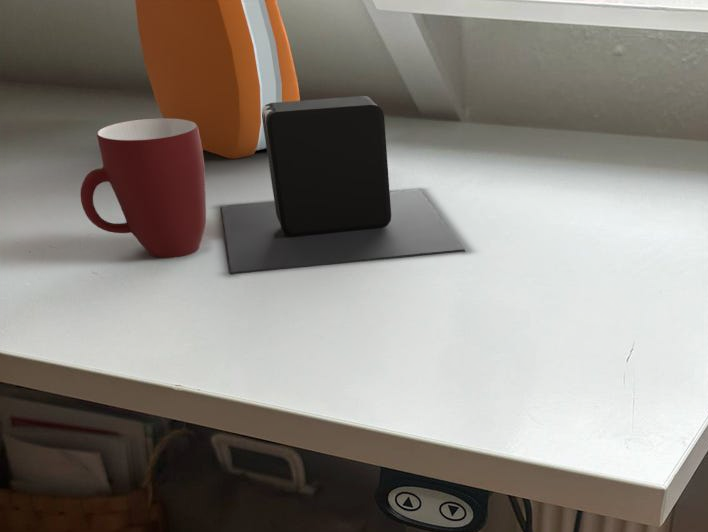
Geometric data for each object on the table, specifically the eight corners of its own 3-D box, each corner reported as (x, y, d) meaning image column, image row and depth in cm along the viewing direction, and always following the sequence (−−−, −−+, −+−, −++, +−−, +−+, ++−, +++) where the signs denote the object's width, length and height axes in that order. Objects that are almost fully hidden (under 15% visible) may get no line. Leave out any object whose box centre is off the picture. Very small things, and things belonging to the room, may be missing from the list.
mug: (116, 283, 78) (82, 150, 71) (87, 257, 83) (52, 131, 77) (235, 257, 82) (212, 130, 76) (201, 234, 87) (177, 114, 81)
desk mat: (231, 279, 78) (230, 272, 78) (222, 212, 93) (221, 205, 93) (465, 256, 82) (465, 249, 81) (420, 195, 97) (419, 188, 96)
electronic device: (392, 227, 86) (383, 103, 80) (283, 238, 84) (265, 113, 78) (383, 214, 89) (373, 95, 83) (277, 225, 87) (259, 103, 81)
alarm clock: (321, 149, 112) (293, -91, 97) (249, 165, 107) (209, -86, 92) (225, 121, 125) (188, -95, 110) (157, 134, 120) (109, -91, 105)
